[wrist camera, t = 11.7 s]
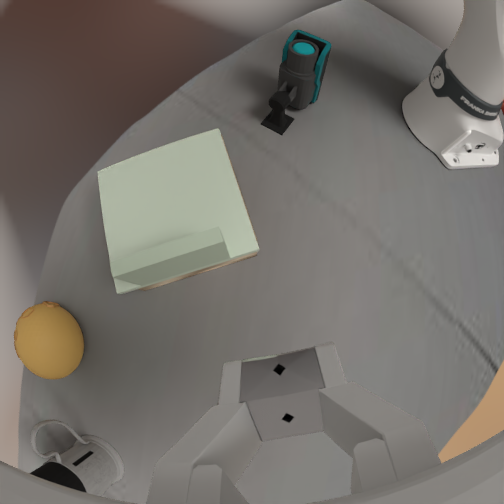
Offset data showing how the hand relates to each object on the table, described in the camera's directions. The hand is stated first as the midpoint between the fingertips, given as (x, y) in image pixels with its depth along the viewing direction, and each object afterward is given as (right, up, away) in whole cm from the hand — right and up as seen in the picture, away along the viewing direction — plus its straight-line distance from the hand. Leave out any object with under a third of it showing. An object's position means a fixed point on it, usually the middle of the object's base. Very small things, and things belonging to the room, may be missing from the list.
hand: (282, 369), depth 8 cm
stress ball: (-27, -9, +28) cm, 39 cm away
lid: (-9, +8, +22) cm, 25 cm away
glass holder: (-24, -25, +24) cm, 42 cm away
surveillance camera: (+5, +25, +34) cm, 43 cm away
